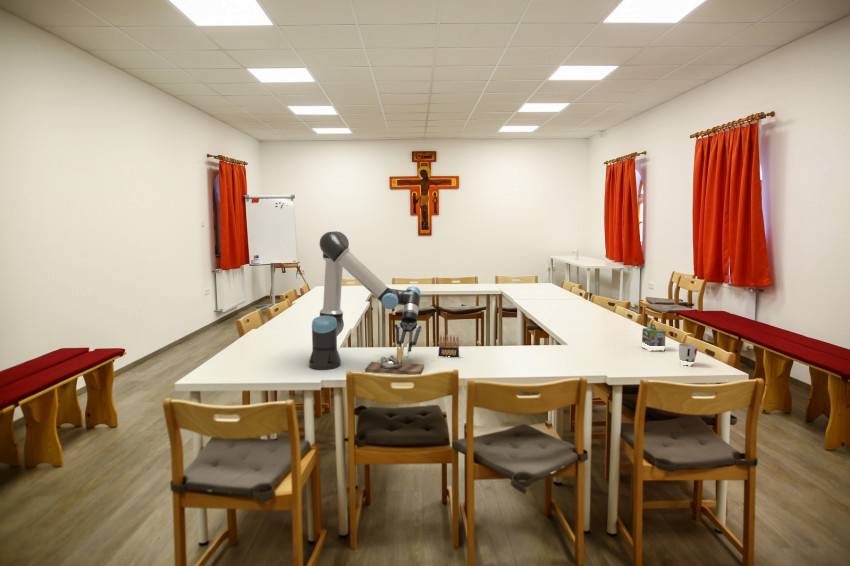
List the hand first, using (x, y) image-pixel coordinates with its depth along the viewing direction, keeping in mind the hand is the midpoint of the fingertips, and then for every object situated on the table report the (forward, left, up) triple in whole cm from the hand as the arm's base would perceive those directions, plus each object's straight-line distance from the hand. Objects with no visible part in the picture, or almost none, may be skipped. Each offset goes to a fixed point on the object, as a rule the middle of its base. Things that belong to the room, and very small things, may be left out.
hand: (403, 357), depth 220 cm
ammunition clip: (+18, +31, -8) cm, 36 cm away
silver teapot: (-6, +2, -6) cm, 8 cm away
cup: (+137, +37, -8) cm, 142 cm away
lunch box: (+130, +66, -8) cm, 146 cm away
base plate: (-5, +4, -7) cm, 9 cm away
